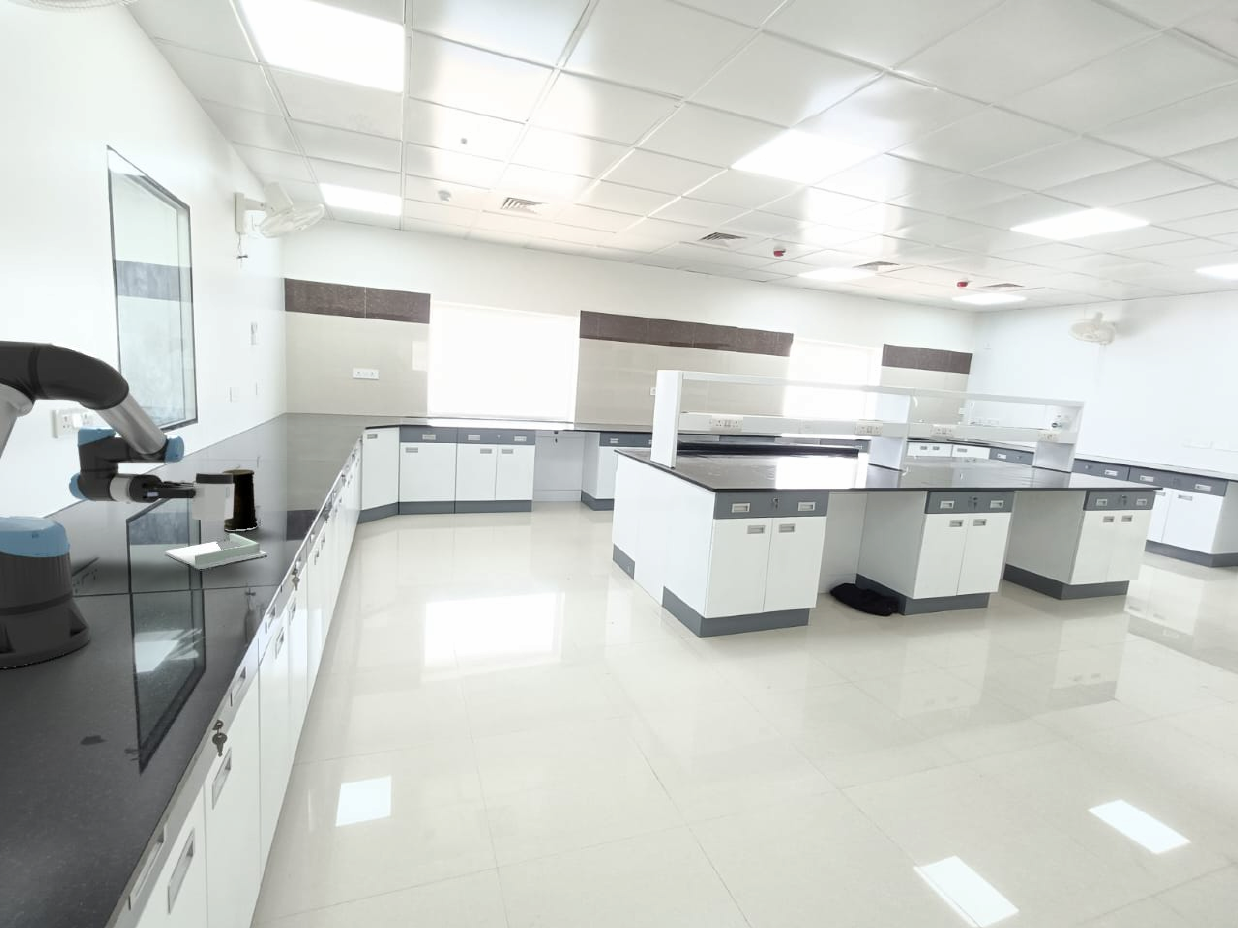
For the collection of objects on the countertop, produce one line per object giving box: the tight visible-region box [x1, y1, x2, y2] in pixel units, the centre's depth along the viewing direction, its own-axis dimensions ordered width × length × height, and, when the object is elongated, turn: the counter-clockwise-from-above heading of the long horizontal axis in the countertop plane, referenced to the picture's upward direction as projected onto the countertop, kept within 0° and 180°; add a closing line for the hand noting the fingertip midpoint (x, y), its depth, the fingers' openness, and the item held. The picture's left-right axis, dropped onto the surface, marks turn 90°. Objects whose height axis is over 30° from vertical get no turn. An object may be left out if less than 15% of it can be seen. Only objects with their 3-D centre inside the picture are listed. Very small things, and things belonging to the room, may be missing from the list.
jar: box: [191, 472, 235, 521], centre depth 157 cm, size 9×8×12 cm
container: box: [221, 468, 259, 530], centre depth 182 cm, size 9×9×18 cm
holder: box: [164, 532, 268, 569], centre depth 159 cm, size 20×16×3 cm
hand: (228, 492), depth 156 cm, fingers closed
